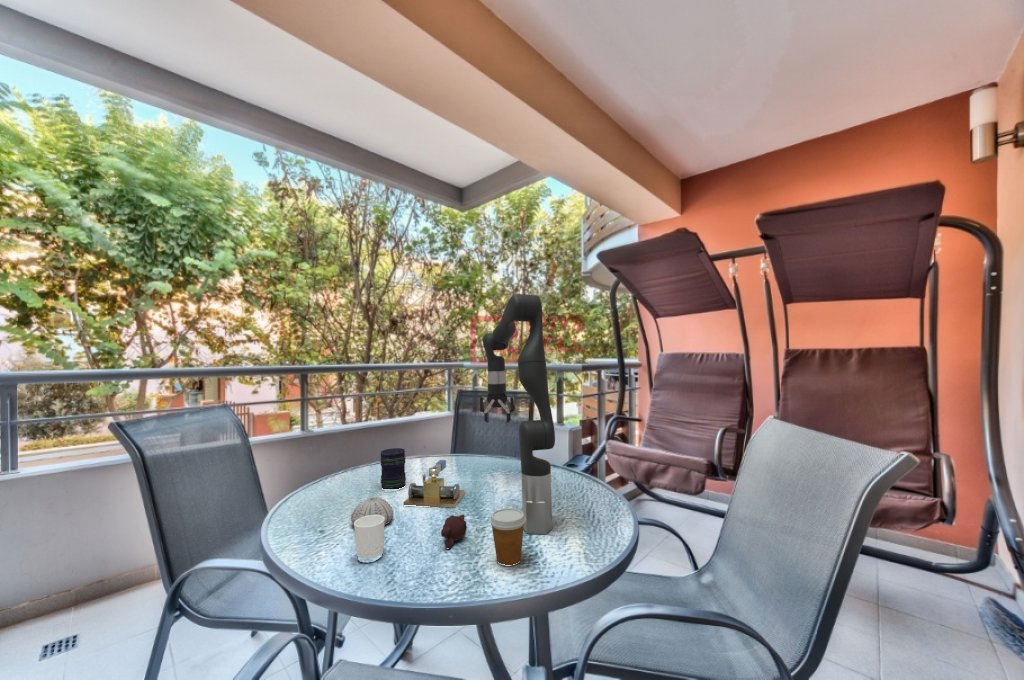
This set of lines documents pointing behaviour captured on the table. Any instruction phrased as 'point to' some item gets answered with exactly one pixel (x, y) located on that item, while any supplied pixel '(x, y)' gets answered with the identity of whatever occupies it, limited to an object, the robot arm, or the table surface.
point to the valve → (434, 493)
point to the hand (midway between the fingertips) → (497, 422)
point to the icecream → (453, 529)
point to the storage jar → (393, 468)
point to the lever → (437, 468)
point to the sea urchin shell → (373, 509)
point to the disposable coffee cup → (508, 534)
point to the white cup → (369, 536)
